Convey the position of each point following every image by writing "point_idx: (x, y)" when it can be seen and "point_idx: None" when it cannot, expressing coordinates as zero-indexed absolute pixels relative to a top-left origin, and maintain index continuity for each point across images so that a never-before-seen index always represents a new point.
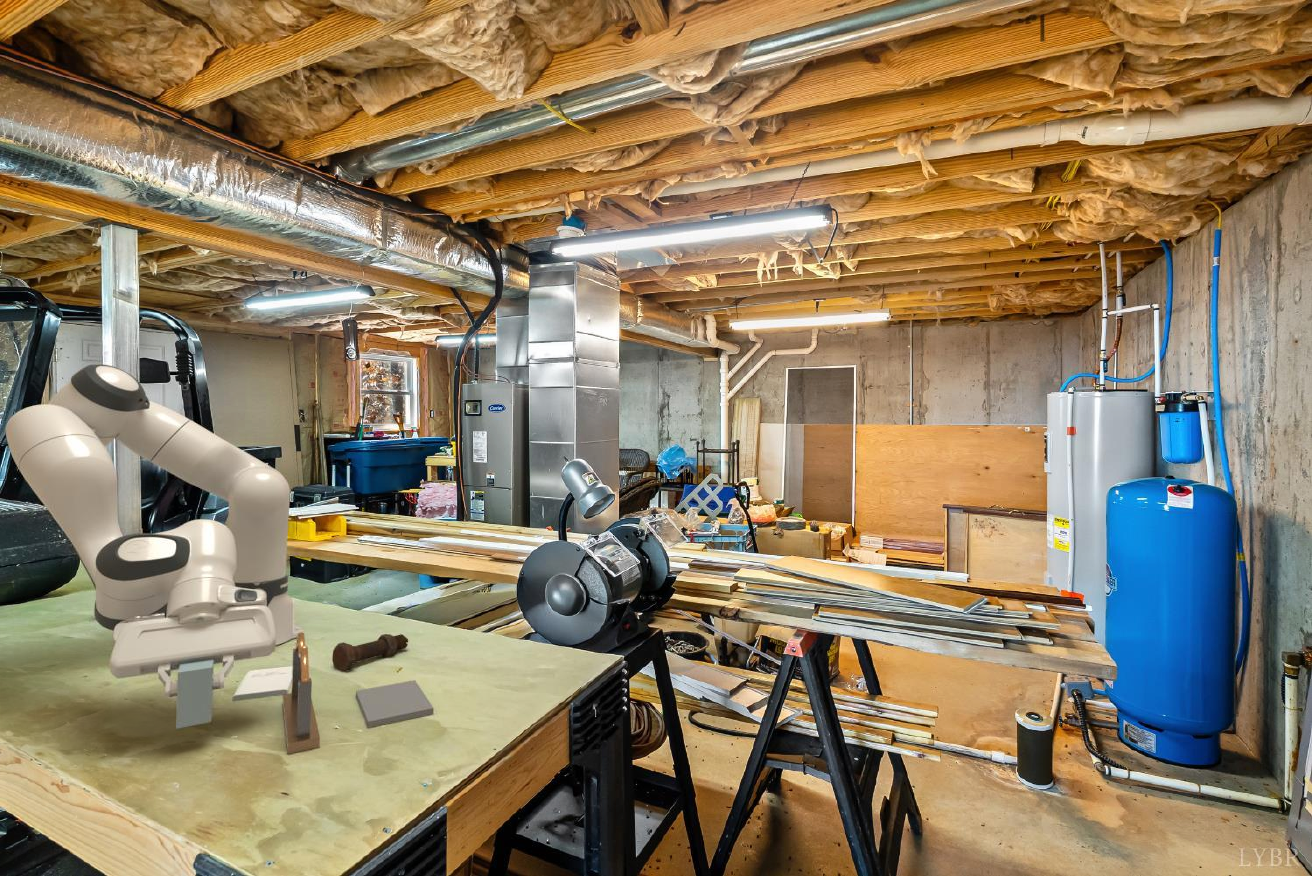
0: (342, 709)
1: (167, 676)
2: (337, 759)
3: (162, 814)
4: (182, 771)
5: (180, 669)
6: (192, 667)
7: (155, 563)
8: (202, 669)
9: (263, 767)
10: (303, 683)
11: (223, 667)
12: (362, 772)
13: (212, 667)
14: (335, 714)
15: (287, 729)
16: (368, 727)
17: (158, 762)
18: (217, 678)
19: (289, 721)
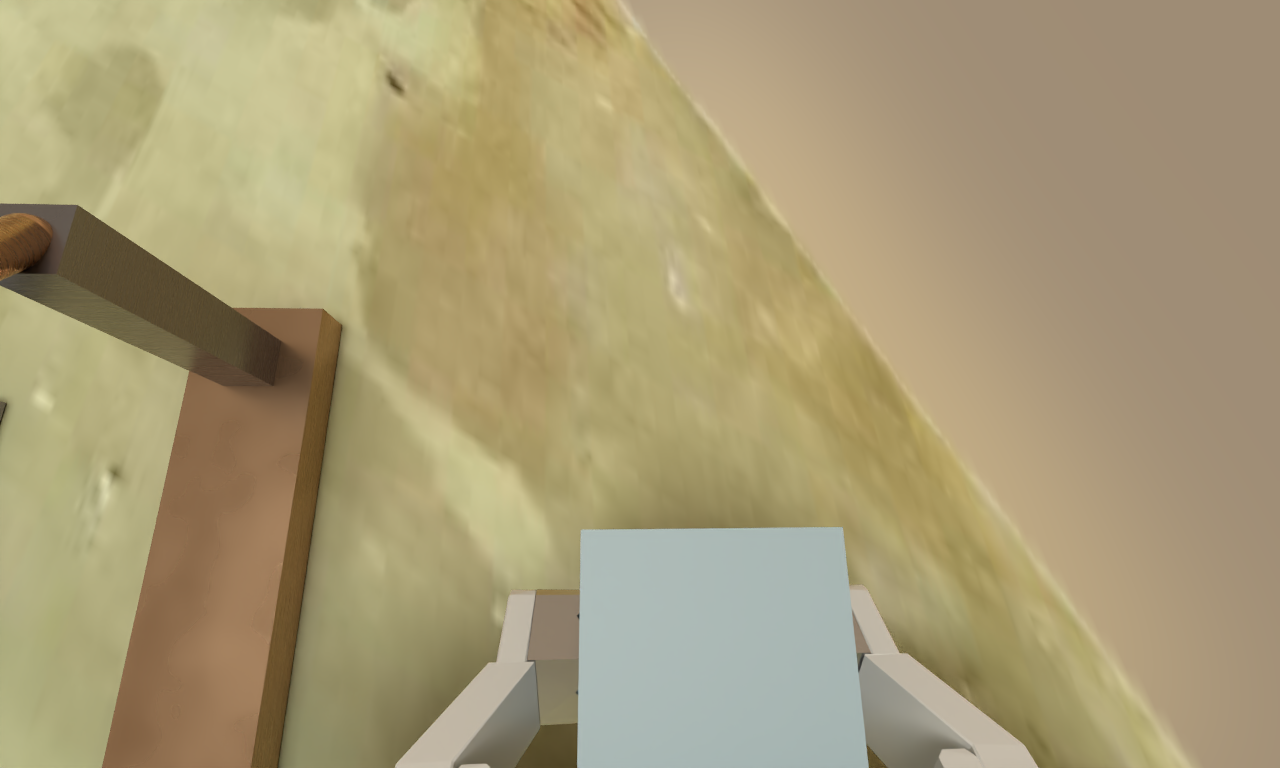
0: (5, 702)
1: (915, 687)
2: (207, 202)
3: (690, 138)
4: (671, 377)
5: (837, 617)
6: (745, 621)
7: None
8: (657, 529)
9: (430, 269)
10: (54, 207)
11: (497, 699)
12: (171, 86)
13: (580, 577)
14: (59, 648)
15: (297, 455)
16: (2, 402)
17: (759, 500)
18: (550, 623)
19: (269, 547)
